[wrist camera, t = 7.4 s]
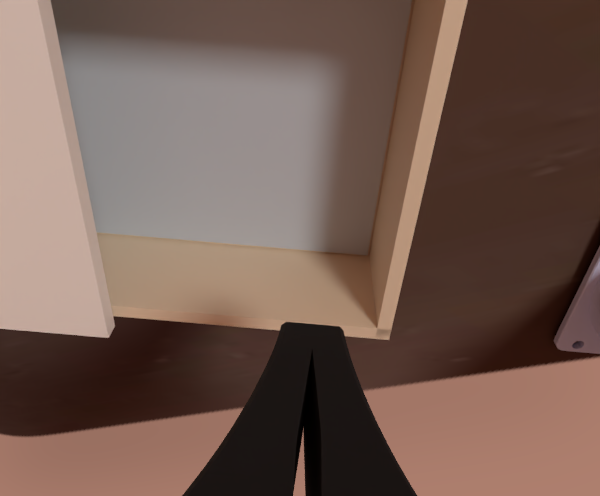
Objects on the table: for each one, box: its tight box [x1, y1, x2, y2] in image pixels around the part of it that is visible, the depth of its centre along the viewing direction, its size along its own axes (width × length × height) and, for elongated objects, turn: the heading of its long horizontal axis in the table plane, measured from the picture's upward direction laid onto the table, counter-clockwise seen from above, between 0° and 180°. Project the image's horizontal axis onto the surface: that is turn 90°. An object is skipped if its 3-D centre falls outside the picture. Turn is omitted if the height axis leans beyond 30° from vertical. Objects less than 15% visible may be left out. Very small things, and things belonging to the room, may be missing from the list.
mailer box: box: [51, 0, 468, 340], centre depth 17 cm, size 16×12×5 cm
